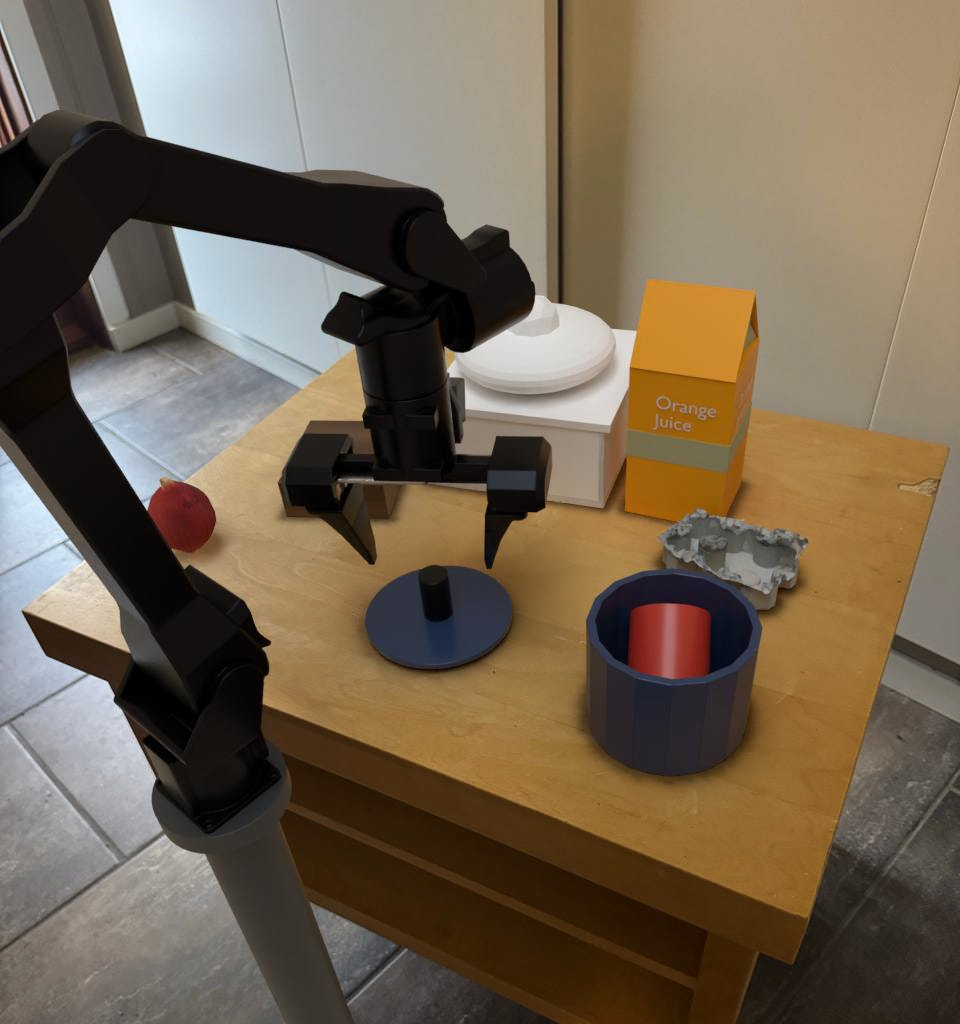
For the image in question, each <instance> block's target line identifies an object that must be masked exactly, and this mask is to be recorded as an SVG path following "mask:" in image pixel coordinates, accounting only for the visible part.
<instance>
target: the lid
mask: <svg viewBox="0 0 960 1024" xmlns="http://www.w3.org/2000/svg"><path fill="white" fill-rule="evenodd" d="M513 611H514V609H513V603H512V599H511V596H510V594H509V592H508V591H507V589H506V587H504V586H503V585H502V583H500V581H498V580H497V579H495V578H494V577H493V576H491V575H489V574H488V573H486V572H483V571H481V570H479V569H475V568H472V567H467V566H459V565H439V564H429V565H426V566H423V568H418V569H415V570H412V571H409V572H407V573H404V574H402V575H400V576H398V577H396V578H394V579H392V580H390V581H389V582H388V583H386V584H385V585H383V587H381V588H380V589H379V590H378V591H377V592H376V593H375V595H374V596H373V597H372V599H371V600H370V602H369V604H368V606H367V609H366V612H365V616H364V627H365V631H366V636H367V638H368V640H369V642H370V643H371V645H372V646H373V648H374V649H375V650H376V651H377V652H378V653H379V654H381V655H382V656H383V657H385V658H386V659H388V660H390V661H391V662H394V663H395V664H398V665H402V666H405V667H409V668H415V669H421V670H422V669H423V670H424V669H425V670H437V669H438V670H439V669H440V670H441V669H447V668H448V669H449V668H453V667H457V666H461V665H464V664H467V663H471V662H472V661H475V660H476V659H479V658H481V657H483V656H484V655H486V654H488V653H489V652H491V651H492V650H494V649H495V648H496V647H497V646H498V645H499V644H500V643H501V642H502V641H503V639H504V638H505V637H506V635H507V634H508V632H509V630H510V627H511V626H512V622H513V613H514V612H513Z"/></svg>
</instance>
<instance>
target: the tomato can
mask: <svg viewBox="0 0 960 1024" xmlns="http://www.w3.org/2000/svg"><path fill="white" fill-rule="evenodd" d="M710 646H711V614H710V613H709V612H708V611H706V610H704V609H702V608H699V607H695V606H691V605H685V604H673V603H660V604H649V605H644V606H640V607H637V608H635V609H633V610H632V611H631V612H630V624H629V644H628V664H627V666H629V667H631V668H632V669H634V670H636V671H638V672H640V673H644V674H649V675H654V676H660V677H665V678H670V679H677V678H689V677H701V676H706V675H708V674H710Z"/></svg>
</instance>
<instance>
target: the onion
mask: <svg viewBox="0 0 960 1024" xmlns="http://www.w3.org/2000/svg"><path fill="white" fill-rule="evenodd" d="M159 482H160V486H159V487H157V489H156V490H155V491H154V493H153V494H152V496H151V497H150V499H149V502H148V506H147V508H146V510H147V511H148V513H149V514H150V516H151V518H152V519H153V521H154V522H155V524H156V525H157V527H158V529H159V530H160V532H161V533H162V535H163V536H164V538H165V540H166V541H167V543H168V544H169V546H170V547H171V549H172V550H175V551H179V552H184V553H189V554H192V553H195V552H196V551H198V550H200V549H201V548H203V546H204V545H206V543H208V542H209V541H210V539H211V537H212V536H213V534H214V531H215V528H216V524H217V515H216V510H215V509H214V506H213V504H212V502H211V500H210V498H209V497H208V496H207V494H206V493H205V492H204V491H203V490H202V489H201V488H198V487H197V486H194V485H192V484H189V483H187V482H184V481H177V480H173V479H172V478H170V477H167V476H164V477H161V478H159Z"/></svg>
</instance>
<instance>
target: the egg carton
mask: <svg viewBox="0 0 960 1024" xmlns="http://www.w3.org/2000/svg"><path fill="white" fill-rule="evenodd" d="M656 538H657V539H658V541H659V542H660V543H661V544H662V545H663V546H662V547H663V549H662V563H663V564H664V565H665V566H666V568H665V569H671V568H674V569H681V570H687V571H693V572H700V573H705V574H708V575H710V576H713V577H715V578H717V579H719V580H721V581H724V582H726V583H728V584H730V585H733V586H734V587H735V588H736V589H737V590H738V591H740V592H741V593H742V594H743V595H744V596H745V597H746V598H747V599H748V600H749V601H750V602H751V603H752V604H753V605H754V607H755V609H756V611H757V610H765V611H769V610H770V609H772V608H773V607H775V606H776V601H777V596H778V590H779V588H784V589H788V590H789V589H792V588H793V587H794V586H795V585H796V584H797V579H798V573H799V570H800V569H799V567H800V560H799V556H801V554H802V553H804V552H805V550H806V549H807V548H808V547H809V540H808V538H807V537H805V536H801V535H800V534H799V533H798V532H795V531H793V532H792V531H790V530H788V529H787V528H786V529H784V528H778V527H775V528H774V529H773V530H769V529H768V528H766V527H764V526H763V525H760V524H759V525H753V524H751V523H746V522H743V521H742V520H741V519H739V518H733V517H728V516H726V517H720V516H717V515H714V516H709V514H708V512H707V511H705V510H703V509H698V508H696V509H695V511H694V513H693V514H692V515H691V516H690V515H689V514H686V515H685V517H684V518H683V519H682V520H681V521H677V522H675V523H674V524H672V525H670V526H668V528H667V530H666V531H665V532H664V533H660V534H658V535H657V536H656Z"/></svg>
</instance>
